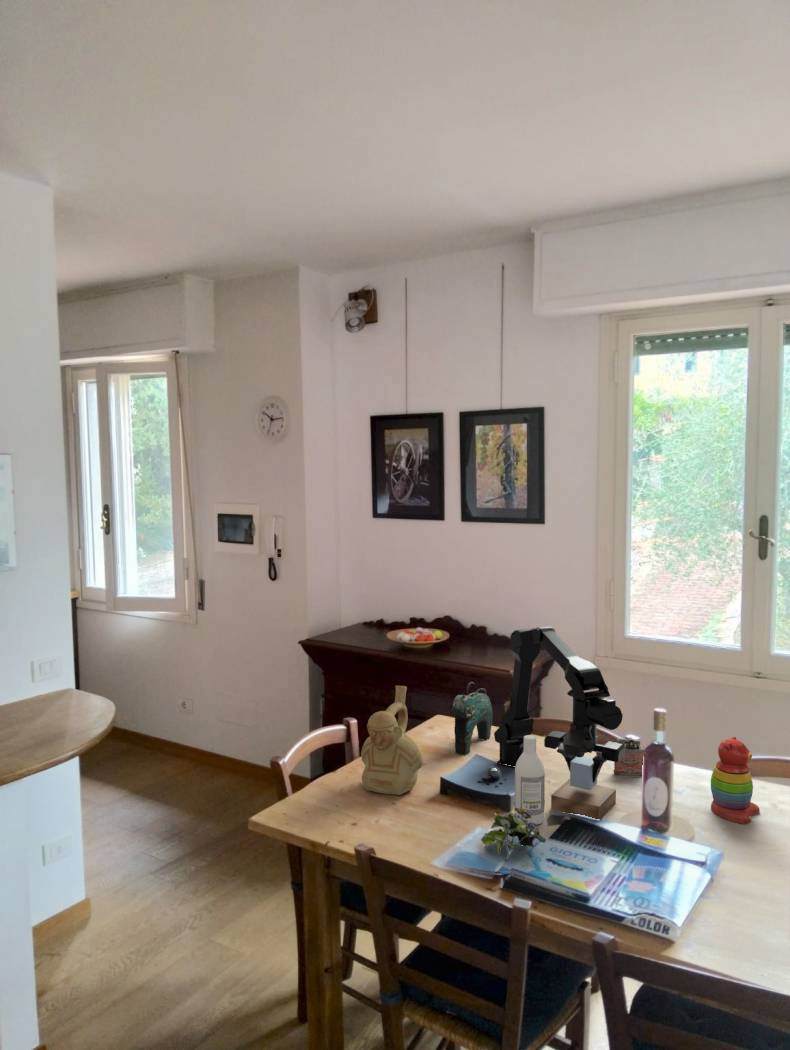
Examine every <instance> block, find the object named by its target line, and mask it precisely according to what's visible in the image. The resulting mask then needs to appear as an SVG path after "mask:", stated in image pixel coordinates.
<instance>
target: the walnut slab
mask: <svg viewBox="0 0 790 1050" xmlns="http://www.w3.org/2000/svg"><path fill="white" fill-rule="evenodd" d="M616 801H617V789H615V788H613V787H607V786H603V785H600V784H596V785H595V786H594V787H593V788H592V789H591V790H586V789H582V788H578V787H574V786H570V778H569V779H568V780H566V782H564V783H563V784H561V786H560V787H559V788H558V789H556V790H555V791H554V792H553V793H552V794H551V795H550V810H552V811H555V812H559V813H563V812H565V813H564V814H567V813H573V814H580V815H585V816H588V817H592V818H595V819H601V820H602V819H603V818H604V817H605V816H606V815H608V813H609V811H611V810H612V808H613V807H614V806H615V805H616V804H617V802H616Z"/></svg>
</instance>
